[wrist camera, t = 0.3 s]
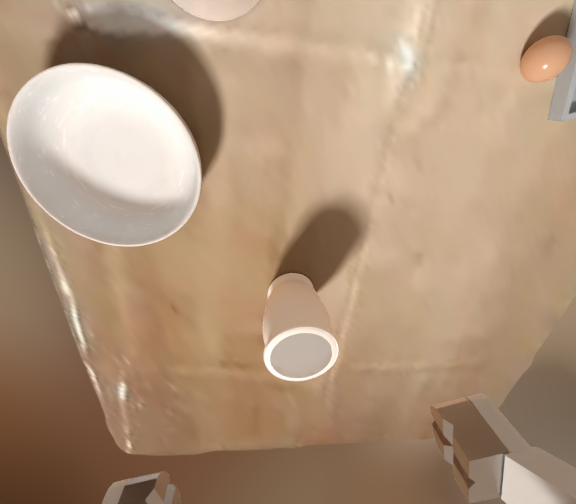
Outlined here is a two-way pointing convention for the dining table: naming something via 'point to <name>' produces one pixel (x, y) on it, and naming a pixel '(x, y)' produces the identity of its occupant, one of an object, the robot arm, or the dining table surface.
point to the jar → (297, 330)
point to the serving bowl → (104, 154)
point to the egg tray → (566, 82)
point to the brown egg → (546, 58)
